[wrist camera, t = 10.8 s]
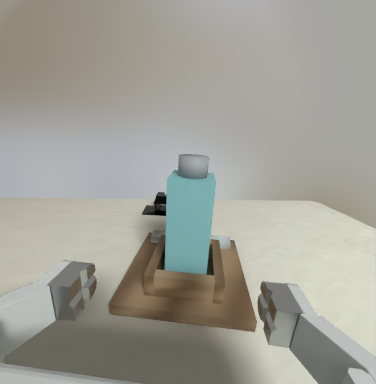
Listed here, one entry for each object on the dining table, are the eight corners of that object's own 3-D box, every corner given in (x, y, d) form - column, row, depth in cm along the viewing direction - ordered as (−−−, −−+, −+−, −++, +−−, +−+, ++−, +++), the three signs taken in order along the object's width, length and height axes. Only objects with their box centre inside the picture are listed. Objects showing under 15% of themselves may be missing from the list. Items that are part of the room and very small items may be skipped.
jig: (109, 313, 18) (107, 283, 17) (149, 238, 32) (149, 218, 31) (254, 331, 18) (261, 300, 16) (233, 246, 31) (236, 226, 30)
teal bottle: (164, 284, 21) (167, 157, 17) (171, 258, 25) (174, 152, 21) (204, 288, 21) (218, 160, 17) (204, 262, 25) (215, 155, 21)
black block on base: (191, 208, 47) (192, 191, 46) (191, 221, 40) (192, 201, 39) (141, 205, 47) (141, 188, 46) (133, 218, 40) (132, 198, 39)
